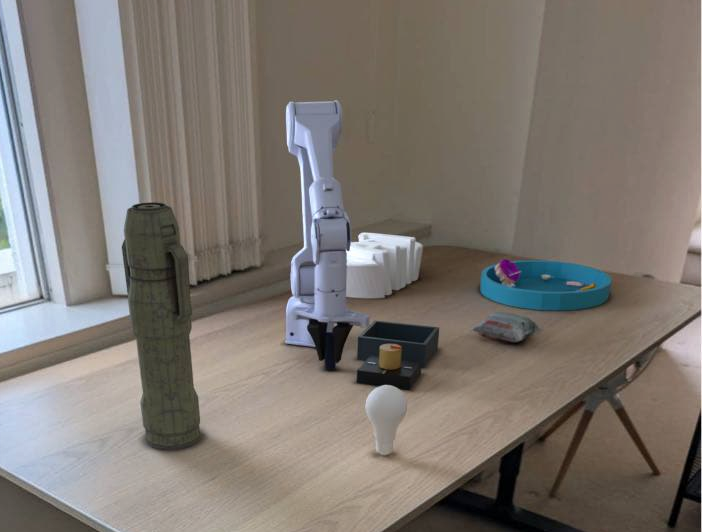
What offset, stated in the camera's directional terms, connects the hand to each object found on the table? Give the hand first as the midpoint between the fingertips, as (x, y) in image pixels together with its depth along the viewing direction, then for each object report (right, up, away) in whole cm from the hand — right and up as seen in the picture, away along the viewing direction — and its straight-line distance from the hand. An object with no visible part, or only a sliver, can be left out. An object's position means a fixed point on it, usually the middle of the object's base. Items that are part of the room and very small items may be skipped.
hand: (329, 360), depth 152 cm
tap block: (+11, -4, -4) cm, 12 cm away
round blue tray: (+54, +25, +43) cm, 73 cm away
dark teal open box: (+14, +3, +7) cm, 16 cm away
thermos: (-26, -17, -24) cm, 39 cm away
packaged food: (+36, +7, +14) cm, 40 cm away
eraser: (0, -2, +1) cm, 2 cm away
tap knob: (+11, -2, -5) cm, 12 cm away
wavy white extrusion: (+13, +29, +50) cm, 60 cm away
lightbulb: (+7, -21, -30) cm, 37 cm away
